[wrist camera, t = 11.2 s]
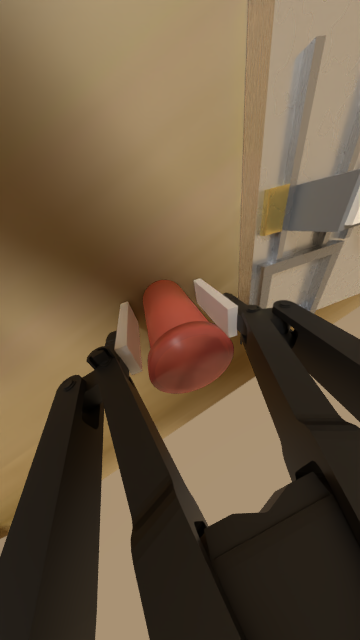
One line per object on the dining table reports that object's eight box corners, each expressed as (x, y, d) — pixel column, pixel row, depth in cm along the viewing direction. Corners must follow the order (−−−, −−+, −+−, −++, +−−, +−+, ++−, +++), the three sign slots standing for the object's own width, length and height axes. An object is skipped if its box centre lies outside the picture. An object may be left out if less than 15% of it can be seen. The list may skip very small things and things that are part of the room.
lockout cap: (131, 285, 14) (133, 352, 6) (181, 270, 14) (234, 316, 7) (149, 325, 17) (163, 403, 9) (189, 311, 17) (233, 374, 10)
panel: (249, -41, 7) (312, -181, 5) (524, -57, 9) (664, -157, 7) (237, 328, 21) (251, 341, 19) (348, 286, 23) (373, 293, 21)
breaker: (293, 185, 11) (371, 166, 7) (336, 174, 11) (428, 151, 8) (285, 230, 13) (344, 232, 9) (322, 219, 13) (392, 216, 10)
